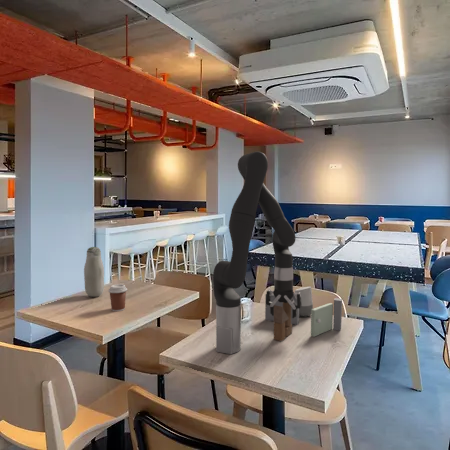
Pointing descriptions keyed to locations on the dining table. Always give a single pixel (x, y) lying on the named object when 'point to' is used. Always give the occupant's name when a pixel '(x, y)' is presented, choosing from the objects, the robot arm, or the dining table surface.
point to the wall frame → (296, 320)
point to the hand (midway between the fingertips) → (283, 316)
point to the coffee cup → (117, 297)
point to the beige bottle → (94, 272)
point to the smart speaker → (305, 301)
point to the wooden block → (282, 321)
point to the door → (321, 319)
